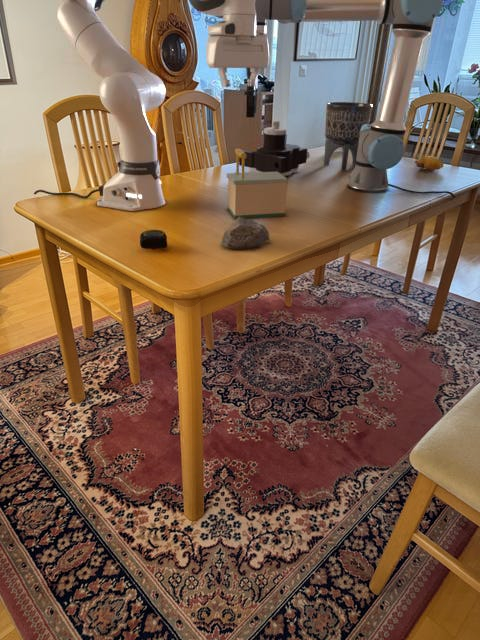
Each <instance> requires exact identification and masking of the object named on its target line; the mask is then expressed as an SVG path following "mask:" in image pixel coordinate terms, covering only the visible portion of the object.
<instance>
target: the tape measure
mask: <svg viewBox="0 0 480 640" xmlns="http://www.w3.org/2000/svg"><path fill="white" fill-rule="evenodd" d="M167 236H168V235H167V234H166V232H165V231H164V230H161V229H147V230H144V231H143V232H141V233H140V235H139V240H140V241H139V245H140V246H139V247H141V248H142V249H146V250H157V249H167V248H168V240H167V239H168V237H167Z"/></svg>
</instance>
